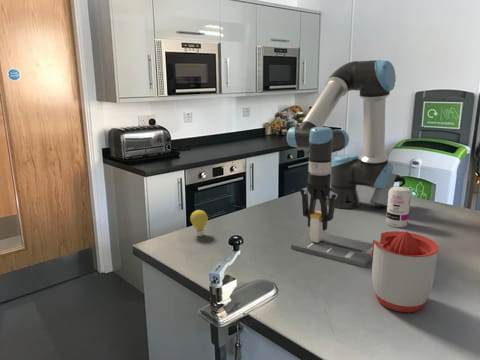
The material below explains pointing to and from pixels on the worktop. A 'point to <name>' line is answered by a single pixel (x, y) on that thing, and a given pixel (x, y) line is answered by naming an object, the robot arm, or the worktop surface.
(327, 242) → the fader panel
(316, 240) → the fader knob
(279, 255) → the worktop surface
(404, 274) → the citrus juicer
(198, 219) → the light bulb
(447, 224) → the worktop surface
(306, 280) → the worktop surface
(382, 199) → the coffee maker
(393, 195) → the supplement can
